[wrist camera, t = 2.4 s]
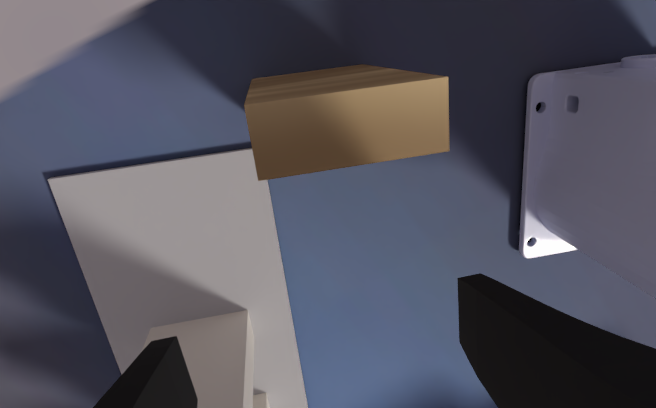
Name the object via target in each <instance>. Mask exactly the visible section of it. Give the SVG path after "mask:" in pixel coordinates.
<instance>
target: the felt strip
mask: <svg viewBox="0 0 656 408" xmlns="http://www.w3.org/2000/svg"><path fill="white" fill-rule="evenodd" d="M48 182H49V185H50V187H51V190H52V193H53V195H54V198H55V200H56V203H57V206H58V208H59V211H60V214H61V216H62V219H63V222H64V224H65V227H66V230H67V232H68V235H69V237H70V240H71V243H72V245H73V248H74V251H75V253H76V256H77V259H78V261H79V264H80V266H81V269H82V272H83V274H84V277H85V280H86V282H87V285H88V288H89V290H90V293H91V295H92V298H93V301H94V303H95V306H96V309H97V311H98V314H99V317H100V319H101V322H102V324H103V327H104V330H105V332H106V335H107V338H108V340H109V343H110V346H111V348H112V351H113V354H114V356H115V359H116V361H117V364H118V367H119V369H120V372H121V375H122V374H123V373H124V372H125V370H126V369H127V368H128V367H129V366H130V365H131V363H132V362H133V361H134V360H135V359H136V358H137V356H138V355H139V354H140V353H141V351H142V349H143V346H144V344H145V341H146V339H147V336H148V334H149V331H150V329H151V328H153V327H158V326H164V325H169V324H174V323H180V322H185V321H191V320H196V319H201V318H207V317H212V316H217V315H223V314H228V313H234V312H239V311H244V310H248V313H249V317H250V322H251V326H252V331H253V335H254V374H253V395H258V394H262V393H267V398H268V402H269V407H270V408H308V404H307V399H306V393H305V388H304V382H303V376H302V371H301V365H300V360H299V354H298V348H297V343H296V337H295V331H294V326H293V320H292V315H291V309H290V303H289V298H288V292H287V287H286V281H285V275H284V270H283V264H282V259H281V253H280V247H279V242H278V236H277V231H276V225H275V219H274V214H273V208H272V202H271V197H270V191H269V186H268V180H262V181H258V177H257V172H256V167H255V161H254V156H253V151H252V148H246V149H240V150H233V151H226V152H219V153H213V154H206V155H199V156H192V157H186V158H179V159H172V160H166V161H159V162H152V163H145V164H139V165H132V166H125V167H118V168H112V169H105V170H98V171H92V172H85V173H78V174H71V175H65V176H58V177H51V178H49V179H48Z"/></svg>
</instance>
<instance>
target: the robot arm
mask: <svg viewBox="0 0 656 408" xmlns="http://www.w3.org/2000/svg"><path fill="white" fill-rule="evenodd" d="M539 102H540V103H541V108H540V109H539V111H537V112H536V105H537V104H538V103H539ZM530 238H532V240H531V241H530V242H529V243H527V242H528V240H529V239H530ZM573 250H580V251H581V252H583V253H584V254H586V255H588V256H589V257H591V258H592V259H594V260H595V261H597V262H599V263H600V264H602V265H603V266H605V267H606V268H608V269H610V270H611V271H613V272H614V273H616V274H617V275H619V276H621V277H622V278H624V279H625V280H627V281H628V282H630V283H632V284H633V285H635V286H636V287H638V288H639V289H641V290H643V291H644V292H646V293H647V294H649V295H650V296H652V297H654V298H655V299H656V54H650V55H637V56H629V57H624V58H622V59H621V62H617V63H610V64H603V65H596V66H589V67H582V68H574V69H567V70H560V71H553V72H546V73H539V74H536V75H534V76H533V77H532V78H531V79H530V81H529V83H528V90H527V108H526V126H525V145H524V163H523V181H522V200H521V218H520V236H519V253H520V254H521V255H522V256H523V257H525V258H535V257H540V256H546V255H551V254H557V253H562V252H567V251H573ZM458 304H459V338H460V344H461V346H462V348H463V350H464V352H465V354H466V356H467V358H468V360H469V362H470V364H471V365H472V367H473V369H474V371H475V373H476V375H477V377H478V378H479V380H480V381H481V383H482V384H483V386H484V387H485V389H486V390H487V392H488V393H489V395H490V396H491V398H492V399H493V401H494V402H495V404H496V405H497V407H498V408H656V349H655V348H652V347H649V346H646V345H643V344H640V343H637V342H635V341H632V340H629V339H626V338H623V337H620V336H618V335H615V334H613V333H610V332H607V331H605V330H602V329H600V328H598V327H595V326H593V325H590V324H588V323H586V322H583V321H581V320H578V319H576V318H574V317H572V316H569V315H567V314H565V313H563V312H560V311H558V310H556V309H554V308H552V307H550V306H547V305H545V304H543V303H541V302H539V301H537V300H535V299H533V298H531V297H529V296H527V295H525V294H523V293H521V292H519V291H516V290H514V289H512V288H510V287H508V286H506V285H504V284H502V283H500V282H498V281H496V280H494V279H492V278H490V277H487V276H485V275H483V274H475V275H471V276H466V277H461V278H458ZM197 404H198V398H197V395H196V392H195V389H194V386H193V383H192V380H191V377H190V374H189V371H188V368H187V365H186V362H185V359H184V356H183V353H182V350H181V347H180V344H179V341H178V338H177V336H174V337H169V338H164V339H159V340H154V341H151V342H150V343H149V344H148V345H147V346H146V347H145V349H144V350H143V351H142V352H141V353H140V354H139V355H138V356H137V358H136V359H135V360H134V361H133V362H132V363H131V365H130V366H129V367H128V368H127V369H126V370H125V372H124V373H123V374H122V375H121V376H120V377H119V379H118V380H117V381H116V382H115V383H114V384H113V385H112V387H111V388H110V389H109V390H108V391H107V392H106V393H105V395H104V396H103V397H102V398H101V399H100V400H99V401H98V403H97V404H96V405H95V406H94V407H93V408H197Z"/></svg>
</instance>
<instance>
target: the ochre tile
mask: <svg viewBox="0 0 656 408" xmlns="http://www.w3.org/2000/svg"><path fill="white" fill-rule="evenodd" d="M244 108H245V113H246V118H247V124H248V129H249V134H250V140H251V145H252V151H253V156H254V161H255V167H256V172H257V177H258V181H262V180H268V179H274V178H281V177H287V176H294V175H300V174H306V173H313V172H319V171H326V170H332V169H338V168H345V167H351V166H357V165H364V164H370V163H377V162H383V161H389V160H396V159H402V158H408V157H415V156H421V155H428V154H434V153H440V152H447V151H449V84H448V77H447V76H440V75H433V74H426V73H419V72H412V71H405V70H398V69H392V68H385V67H378V66H371V65H364V64H361V65H353V66H345V67H338V68H330V69H323V70H315V71H308V72H300V73H293V74H285V75H278V76H270V77H263V78H255V79H252V80H251V84H250V87H249V90H248V94H247V97H246V100H245V103H244Z"/></svg>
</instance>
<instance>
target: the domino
mask: <svg viewBox="0 0 656 408" xmlns="http://www.w3.org/2000/svg"><path fill="white" fill-rule="evenodd" d="M174 336H177V338H178V341H179V344H180V347H181V350H182V353H183V356H184V359H185V362H186V365H187V368H188V371H189V374H190V377H191V380H192V383H193V386H194V389H195V392H196V395H197V398H198V404H197V408H253V374H254V335H253V331H252V326H251V322H250V317H249V313H248V310H244V311H239V312H234V313H228V314H223V315H217V316H212V317H207V318H201V319H196V320H191V321H185V322H180V323H174V324H169V325H164V326H158V327H153V328H151V329H150V331H149V334H148V336H147V339H146V341H145V344H144V346H143V349H142V351H143V350H144V349H145V347H146V346H147V345H148V344H149V343H150V342H151V341H154V340H159V339H164V338H169V337H174ZM142 351H141V352H142Z"/></svg>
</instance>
